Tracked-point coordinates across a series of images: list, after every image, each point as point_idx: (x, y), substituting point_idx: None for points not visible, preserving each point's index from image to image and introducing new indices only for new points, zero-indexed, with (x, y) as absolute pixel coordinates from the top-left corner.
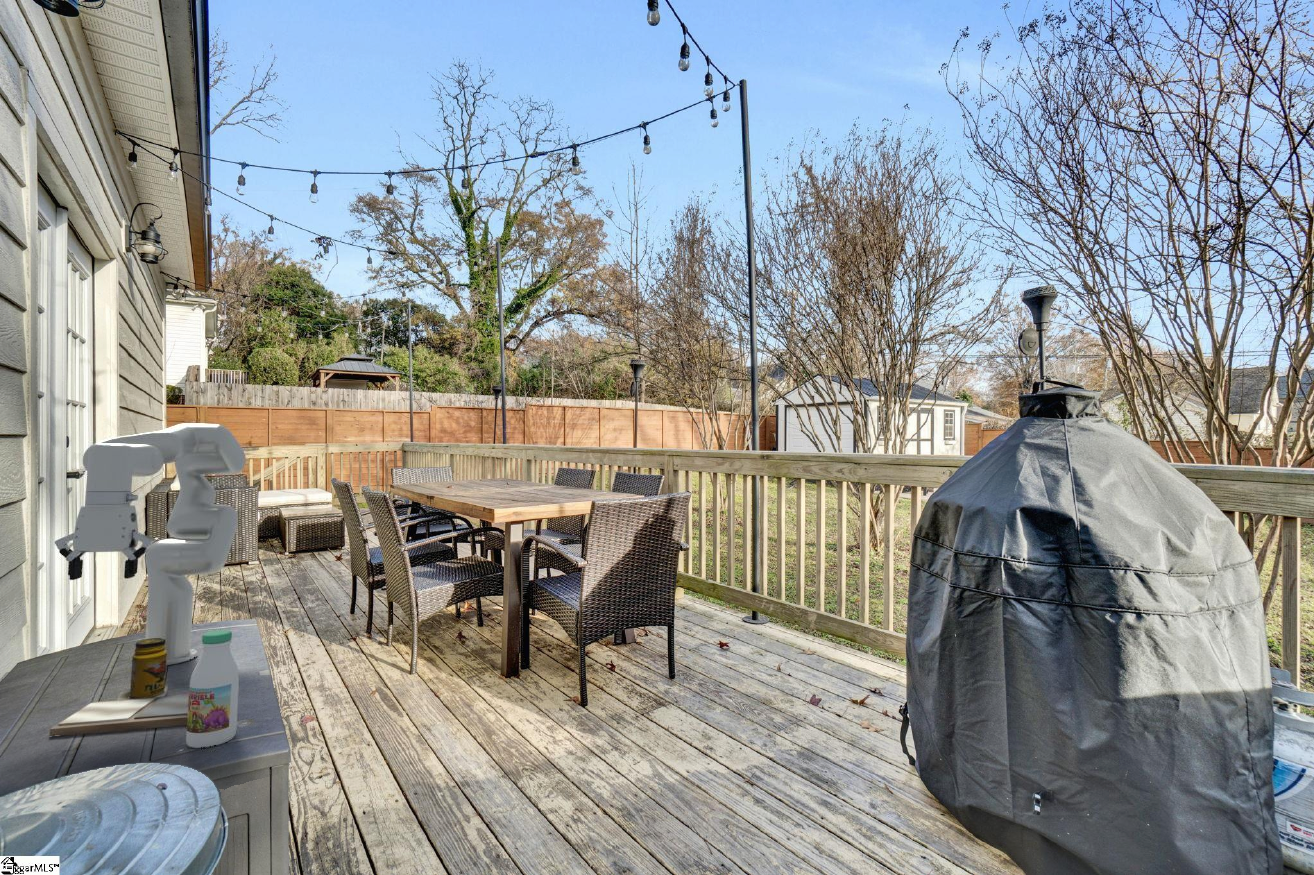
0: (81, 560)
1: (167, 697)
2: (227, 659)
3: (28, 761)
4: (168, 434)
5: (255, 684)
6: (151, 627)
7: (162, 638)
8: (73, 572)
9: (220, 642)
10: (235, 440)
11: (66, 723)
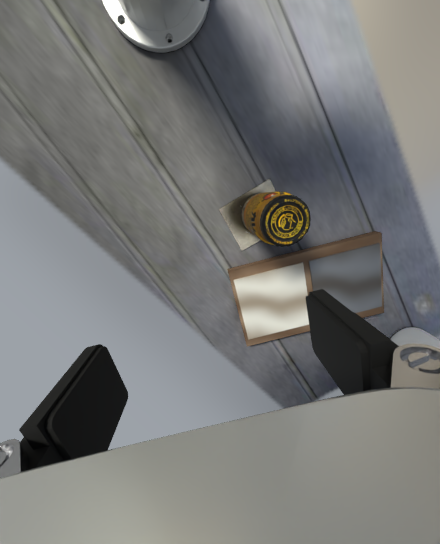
0: (59, 436)
1: (318, 260)
2: None
3: (270, 383)
4: None
5: (395, 167)
6: None
7: (300, 202)
8: (114, 425)
9: None
10: None
11: (255, 337)
